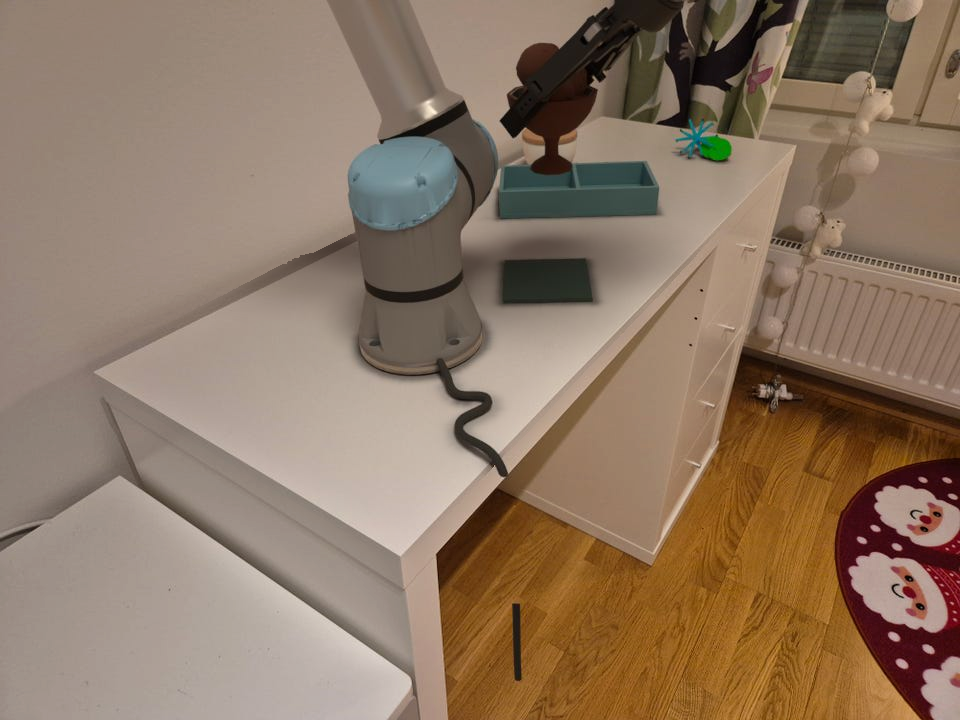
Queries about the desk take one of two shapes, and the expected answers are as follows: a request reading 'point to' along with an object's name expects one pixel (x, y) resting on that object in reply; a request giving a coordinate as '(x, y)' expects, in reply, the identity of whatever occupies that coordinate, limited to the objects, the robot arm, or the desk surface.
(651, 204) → the divided tray
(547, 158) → the ice cream bowl
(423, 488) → the desk surface
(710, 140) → the stick construction toy
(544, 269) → the mat
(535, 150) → the trinket box
